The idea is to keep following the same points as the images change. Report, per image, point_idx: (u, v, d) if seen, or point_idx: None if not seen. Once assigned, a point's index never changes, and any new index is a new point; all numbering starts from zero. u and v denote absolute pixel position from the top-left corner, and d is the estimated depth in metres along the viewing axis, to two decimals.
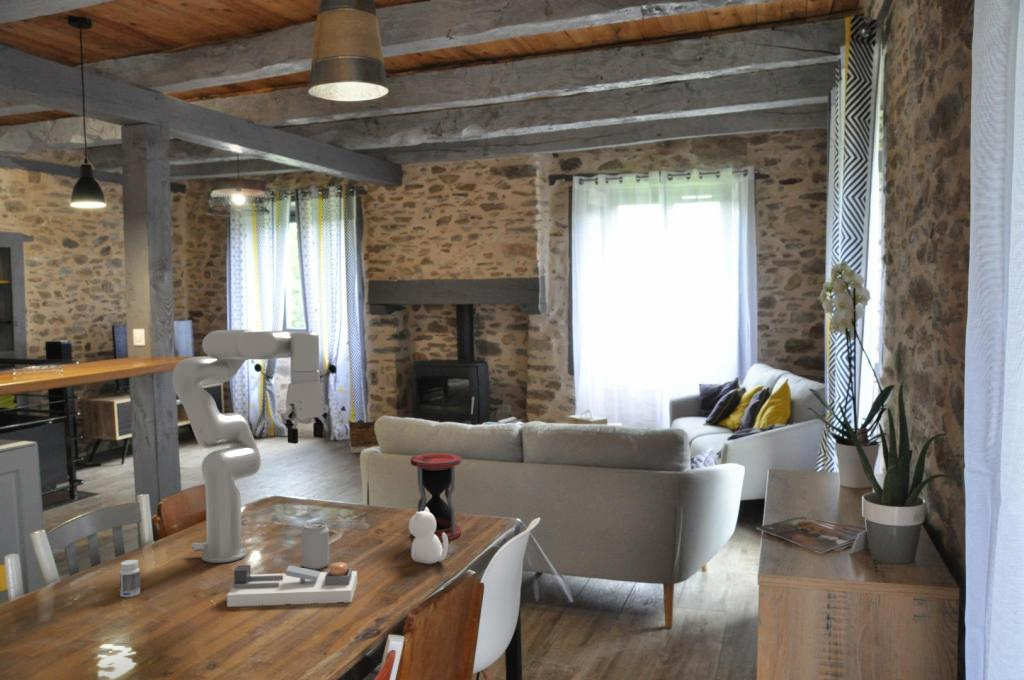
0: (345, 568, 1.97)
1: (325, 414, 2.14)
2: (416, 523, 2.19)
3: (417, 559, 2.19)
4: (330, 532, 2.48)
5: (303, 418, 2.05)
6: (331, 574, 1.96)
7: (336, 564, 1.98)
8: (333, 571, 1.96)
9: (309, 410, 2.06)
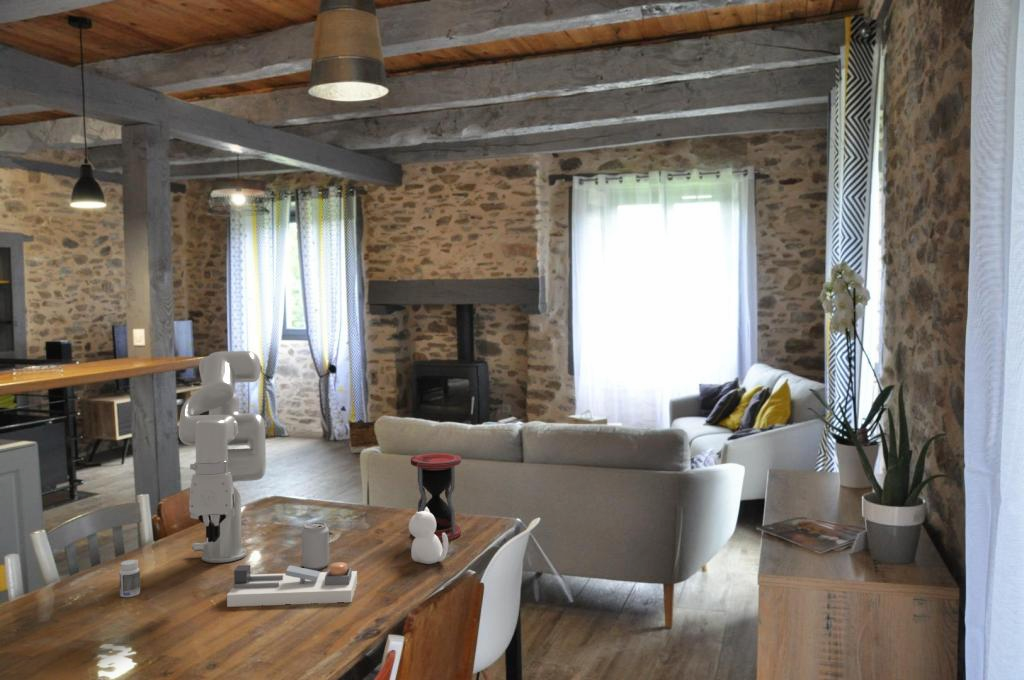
0: (345, 568, 1.97)
1: None
2: (416, 523, 2.19)
3: (417, 559, 2.19)
4: None
5: None
6: (331, 574, 1.96)
7: (336, 564, 1.98)
8: (333, 571, 1.96)
9: None
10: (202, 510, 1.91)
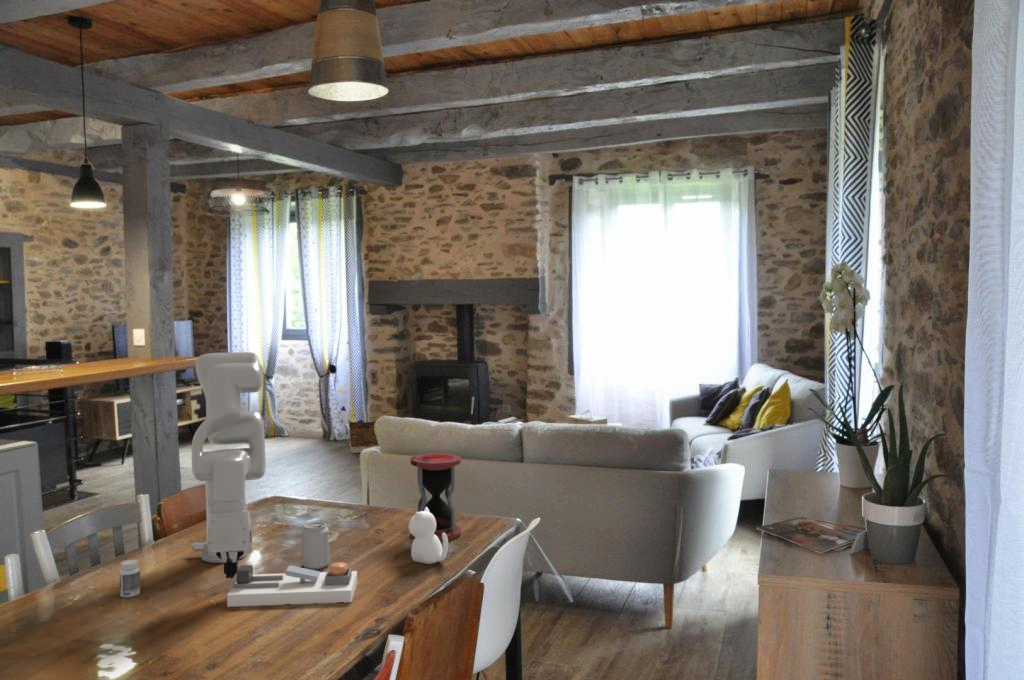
0: (345, 568, 1.97)
1: None
2: (416, 523, 2.19)
3: (417, 559, 2.19)
4: None
5: None
6: (331, 574, 1.96)
7: (336, 564, 1.98)
8: (333, 571, 1.96)
9: None
10: (220, 547, 1.92)
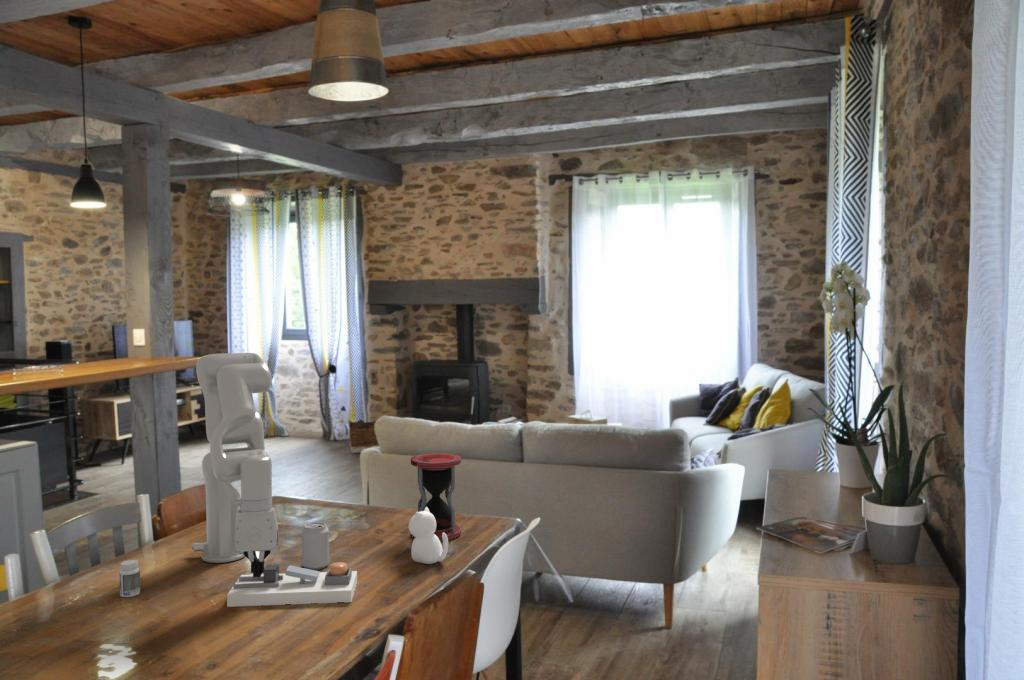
0: (345, 568, 1.97)
1: None
2: (416, 523, 2.19)
3: (417, 559, 2.19)
4: None
5: None
6: (331, 574, 1.96)
7: (336, 564, 1.98)
8: (333, 571, 1.96)
9: None
10: (247, 546, 1.92)
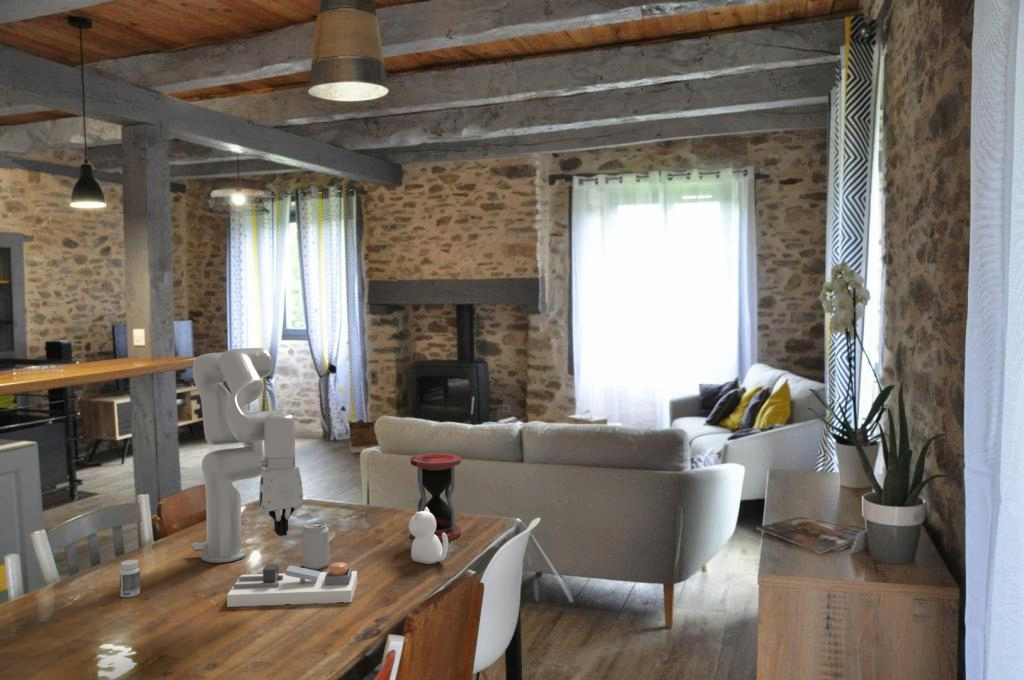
0: (345, 568, 1.97)
1: None
2: (416, 523, 2.19)
3: (417, 559, 2.19)
4: None
5: None
6: (331, 574, 1.96)
7: (336, 564, 1.98)
8: (333, 571, 1.96)
9: None
10: (279, 505, 1.92)
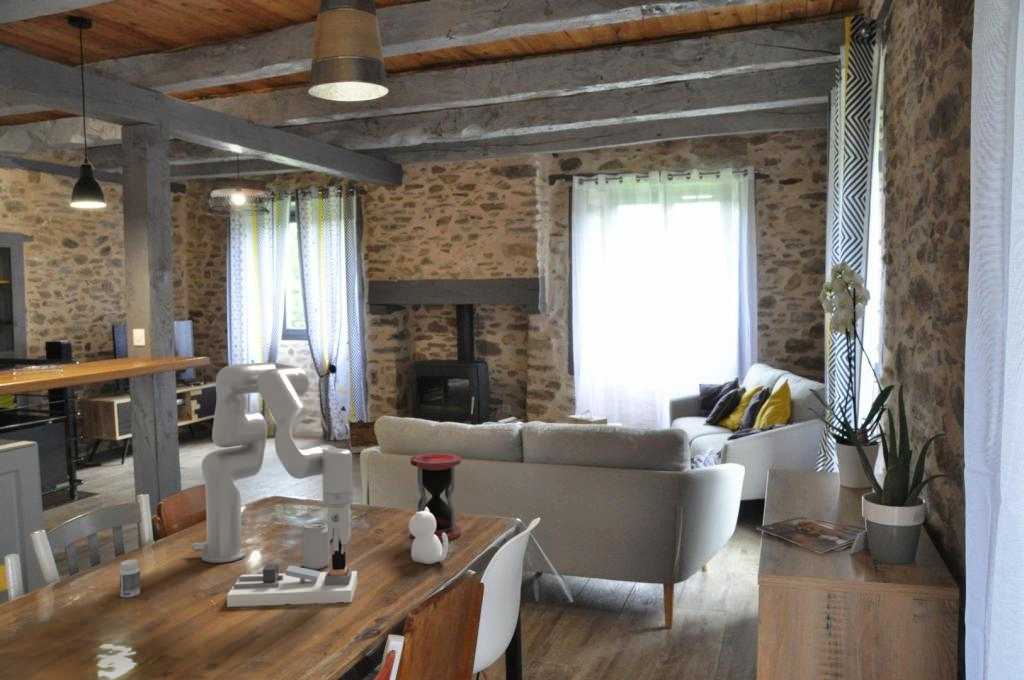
0: (345, 571, 1.97)
1: None
2: (416, 523, 2.19)
3: (417, 559, 2.19)
4: None
5: None
6: None
7: None
8: (333, 574, 1.96)
9: None
10: (348, 537, 1.96)
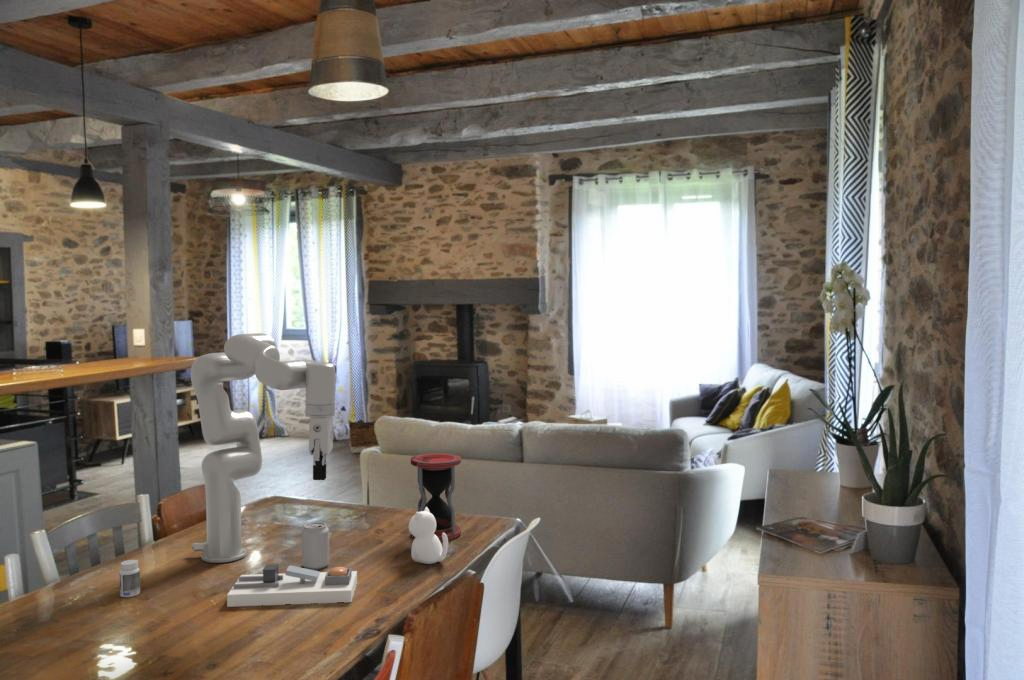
0: (345, 573, 1.97)
1: None
2: (416, 523, 2.19)
3: (417, 559, 2.19)
4: None
5: None
6: None
7: (336, 569, 1.98)
8: (333, 575, 1.96)
9: None
10: (329, 449, 2.00)
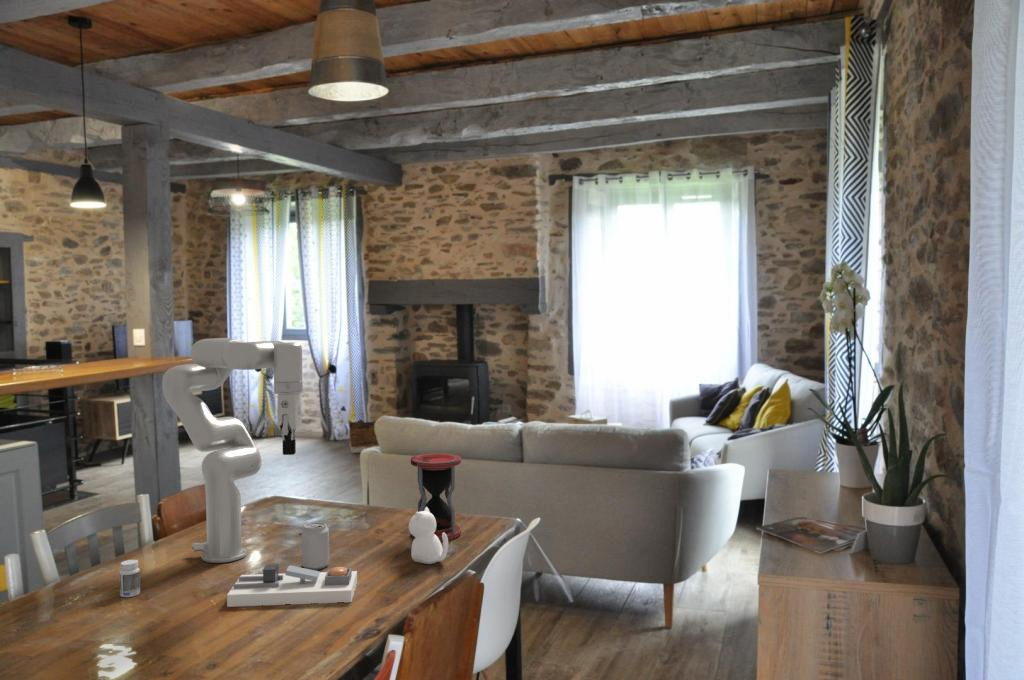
0: (345, 573, 1.97)
1: None
2: (416, 523, 2.19)
3: (417, 559, 2.19)
4: None
5: None
6: None
7: (336, 569, 1.98)
8: (333, 575, 1.96)
9: None
10: (298, 424, 2.09)
